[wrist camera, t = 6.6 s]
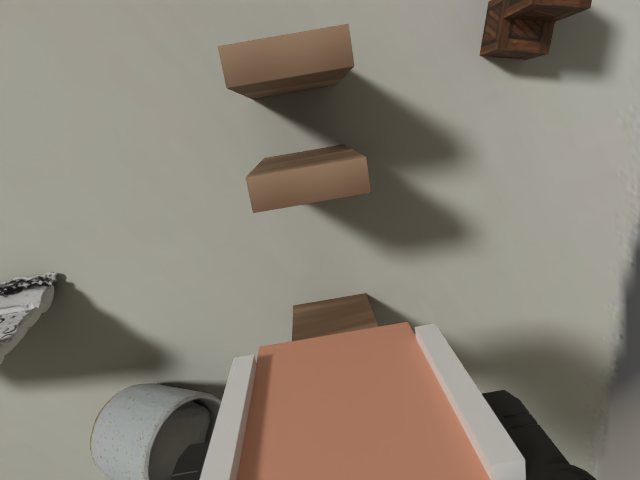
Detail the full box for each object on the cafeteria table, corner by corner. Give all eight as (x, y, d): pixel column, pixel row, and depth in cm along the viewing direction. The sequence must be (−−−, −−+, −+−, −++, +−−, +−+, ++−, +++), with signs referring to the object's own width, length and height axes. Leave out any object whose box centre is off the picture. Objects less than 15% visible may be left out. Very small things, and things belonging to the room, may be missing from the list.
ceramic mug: (165, 372, 38) (77, 393, 31) (234, 382, 33) (149, 409, 27) (163, 498, 37) (73, 548, 30) (234, 525, 33) (147, 589, 26)
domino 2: (264, 158, 32) (245, 177, 21) (344, 144, 32) (366, 156, 21) (268, 182, 32) (253, 212, 21) (347, 168, 32) (371, 192, 21)
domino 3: (293, 305, 35) (290, 386, 24) (365, 293, 35) (394, 368, 24) (297, 325, 35) (295, 413, 25) (368, 313, 35) (398, 395, 25)
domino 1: (246, 72, 30) (217, 46, 19) (331, 58, 30) (348, 23, 19) (252, 99, 30) (226, 87, 20) (335, 85, 30) (354, 65, 20)
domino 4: (259, 347, 17) (192, 718, 6) (407, 321, 17) (583, 652, 6) (268, 385, 18) (219, 789, 7) (412, 361, 18) (582, 727, 7)
